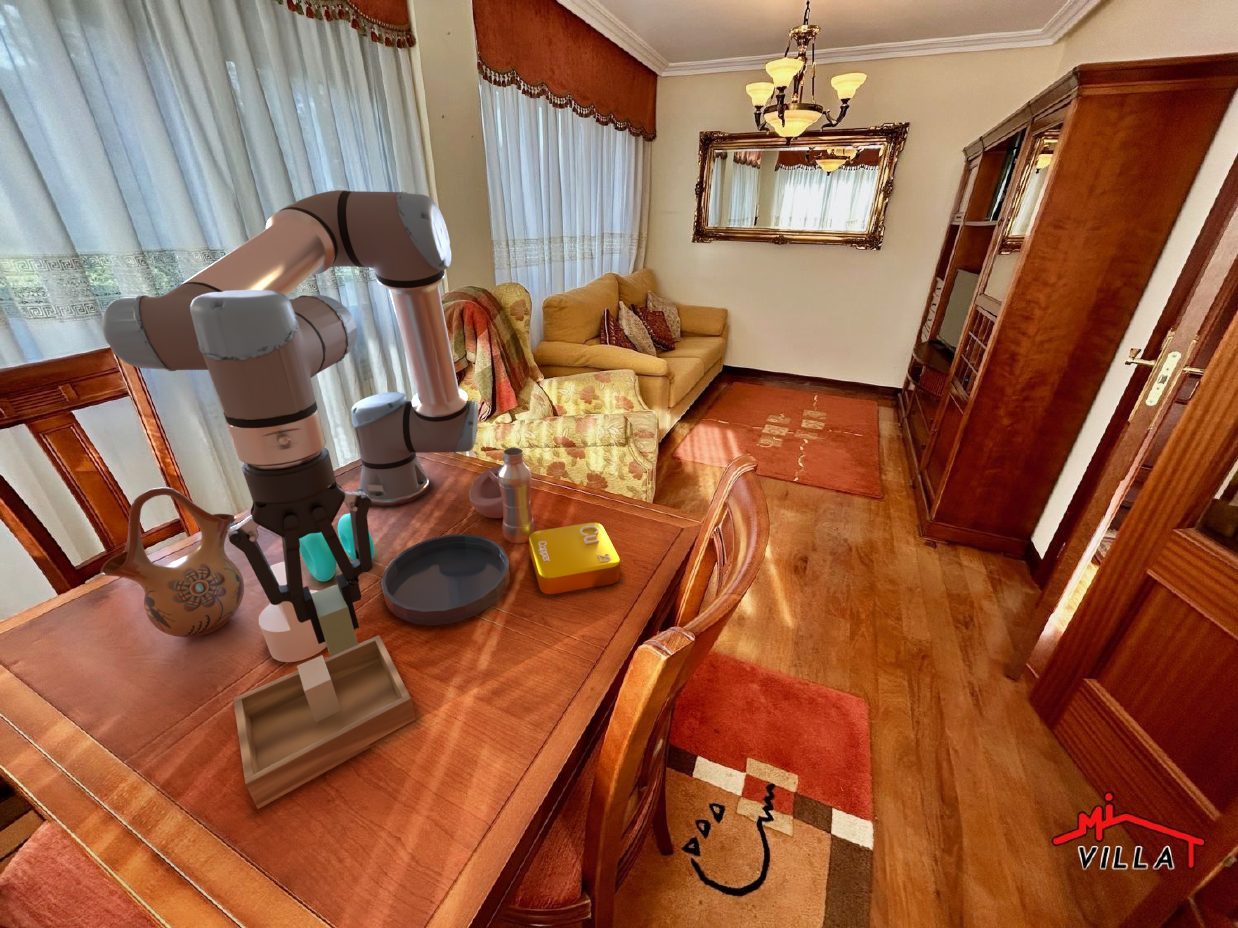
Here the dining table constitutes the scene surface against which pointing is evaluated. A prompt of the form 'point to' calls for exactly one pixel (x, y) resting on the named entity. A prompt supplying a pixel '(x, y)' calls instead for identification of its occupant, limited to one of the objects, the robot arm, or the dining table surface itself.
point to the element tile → (573, 558)
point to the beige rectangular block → (318, 688)
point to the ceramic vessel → (183, 574)
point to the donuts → (328, 550)
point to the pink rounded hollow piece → (487, 494)
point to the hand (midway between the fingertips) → (336, 628)
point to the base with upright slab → (287, 628)
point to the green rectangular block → (334, 620)
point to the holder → (301, 748)
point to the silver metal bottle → (516, 497)
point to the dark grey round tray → (445, 579)
